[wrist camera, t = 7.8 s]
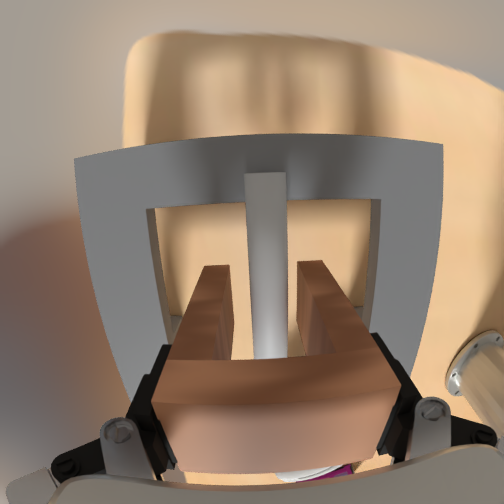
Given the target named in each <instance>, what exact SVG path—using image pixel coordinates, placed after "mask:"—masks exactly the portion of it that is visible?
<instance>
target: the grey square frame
mask: <svg viewBox="0 0 504 504" xmlns="http://www.w3.org/2000/svg"><path fill="white" fill-rule="evenodd" d="M74 164H75V177H76V188H77V196H78V205H79V213H80V219H81V226H82V233H83V239H84V244H85V250H86V255H87V260H88V265H89V270H90V274H91V279H92V283H93V287H94V291H95V295H96V299H97V303H98V307H99V311H100V314H101V318H102V321H103V325H104V328H105V331H106V335H107V338H108V341H109V344H110V347H111V350H112V353H113V356H114V359H115V362H116V365H117V368H118V370H119V373H120V376H121V378H122V381H123V384H124V386H125V389H126V391H127V394H128V396H129V399H130V401H131V402H132V400H133V398H134V395H135V393H136V391H137V388H138V386H139V384H140V382H141V379H142V377H143V375H144V374H150V372H151V370H152V367H153V365H154V363H155V360H156V358H157V356H158V353H159V351H160V349H161V346H162V345H163V344H173V342H174V339H175V337H176V334H177V332H178V329H179V326H180V324H181V321H182V316H170V312H169V306H168V301H167V295H166V289H165V283H164V277H163V270H162V264H161V257H160V250H159V242H158V234H157V226H156V217H155V208H162V207H174V206H187V205H201V204H216V203H233V202H245V203H246V222H247V241H248V259H249V278H250V296H251V314H252V331H253V349H254V359H272V358H287V350H288V239H287V200H311V199H371V221H370V242H369V257H368V269H367V280H366V290H365V299H364V308H363V307H353V308H354V309H355V311H356V312H357V314H358V315H359V317H360V318H361V320H362V322H363V323H364V325H365V326H366V328H367V329H368V331H369V333H374V332H377V333H378V334H379V335H380V337H381V338H382V340H383V341H384V343H385V344H386V346H387V347H388V349H389V351H390V352H391V354H392V355H393V357H394V358H395V359H397V360H398V361H399V362H400V363H401V365H402V366H403V368H404V369H405V371H406V372H407V374H408V375H409V377H410V375H411V372H412V369H413V366H414V362H415V359H416V356H417V352H418V348H419V345H420V341H421V337H422V333H423V329H424V325H425V321H426V317H427V312H428V308H429V303H430V298H431V293H432V287H433V282H434V276H435V269H436V263H437V255H438V248H439V239H440V229H441V217H442V202H443V144H438V143H431V142H424V141H416V140H408V139H398V138H388V137H376V136H362V135H343V134H255V135H236V136H221V137H209V138H198V139H189V140H180V141H171V142H164V143H156V144H149V145H143V146H136V147H130V148H125V149H119V150H114V151H108V152H103V153H98V154H94V155H89V156H84V157H80V158H75V159H74Z"/></svg>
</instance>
